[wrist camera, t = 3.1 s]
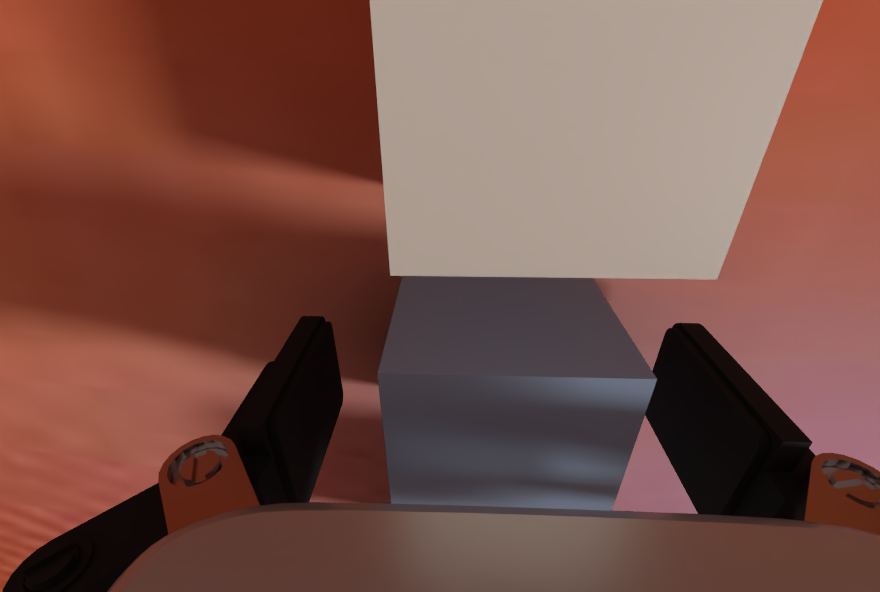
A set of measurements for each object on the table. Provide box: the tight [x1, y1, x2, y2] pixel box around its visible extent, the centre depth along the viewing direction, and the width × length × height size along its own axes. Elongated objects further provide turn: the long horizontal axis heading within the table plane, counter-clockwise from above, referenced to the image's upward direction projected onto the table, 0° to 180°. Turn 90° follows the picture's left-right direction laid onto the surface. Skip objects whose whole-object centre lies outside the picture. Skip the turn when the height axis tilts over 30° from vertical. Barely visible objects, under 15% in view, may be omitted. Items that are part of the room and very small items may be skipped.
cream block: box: [370, 0, 823, 279], centre depth 7 cm, size 5×5×5 cm
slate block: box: [377, 276, 657, 511], centre depth 11 cm, size 5×5×5 cm
